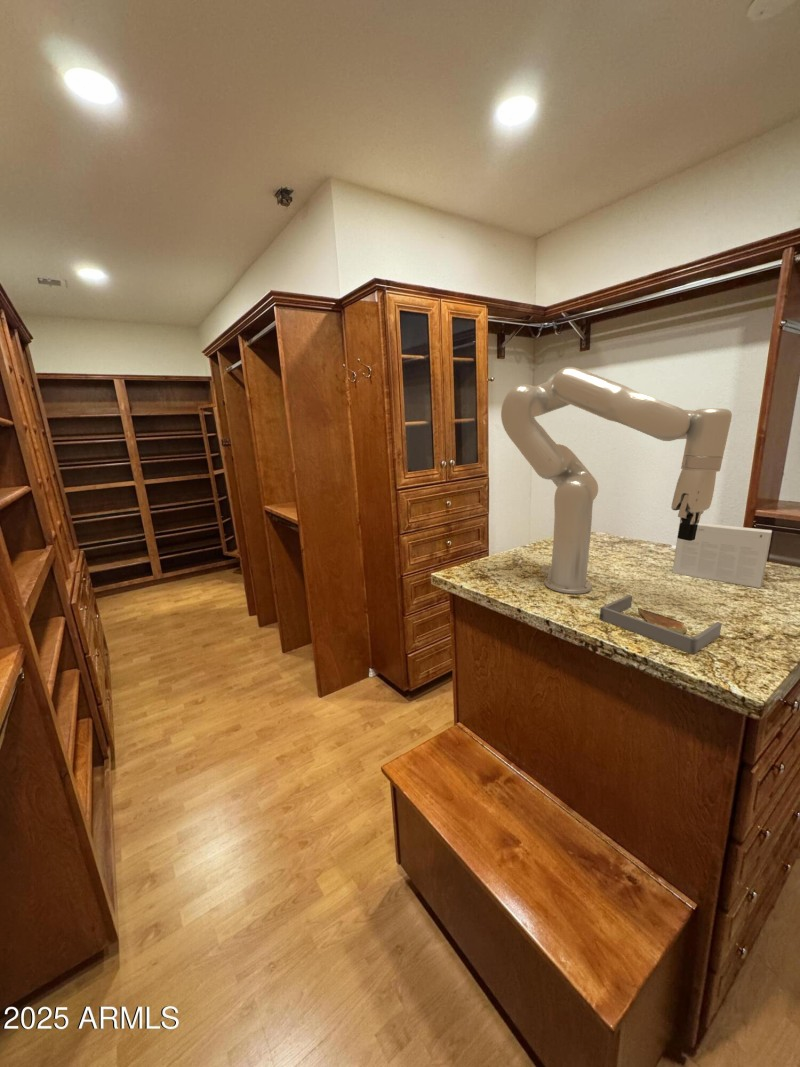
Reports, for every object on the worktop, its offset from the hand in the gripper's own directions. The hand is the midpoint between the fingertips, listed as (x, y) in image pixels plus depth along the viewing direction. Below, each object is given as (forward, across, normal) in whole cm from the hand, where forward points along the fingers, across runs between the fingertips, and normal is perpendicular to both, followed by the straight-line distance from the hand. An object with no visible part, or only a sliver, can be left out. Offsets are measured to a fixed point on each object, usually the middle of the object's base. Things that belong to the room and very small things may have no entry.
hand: (685, 539), depth 100 cm
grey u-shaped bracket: (+17, +16, +4) cm, 24 cm away
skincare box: (+17, -30, -2) cm, 34 cm away
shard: (+18, +15, +3) cm, 24 cm away
